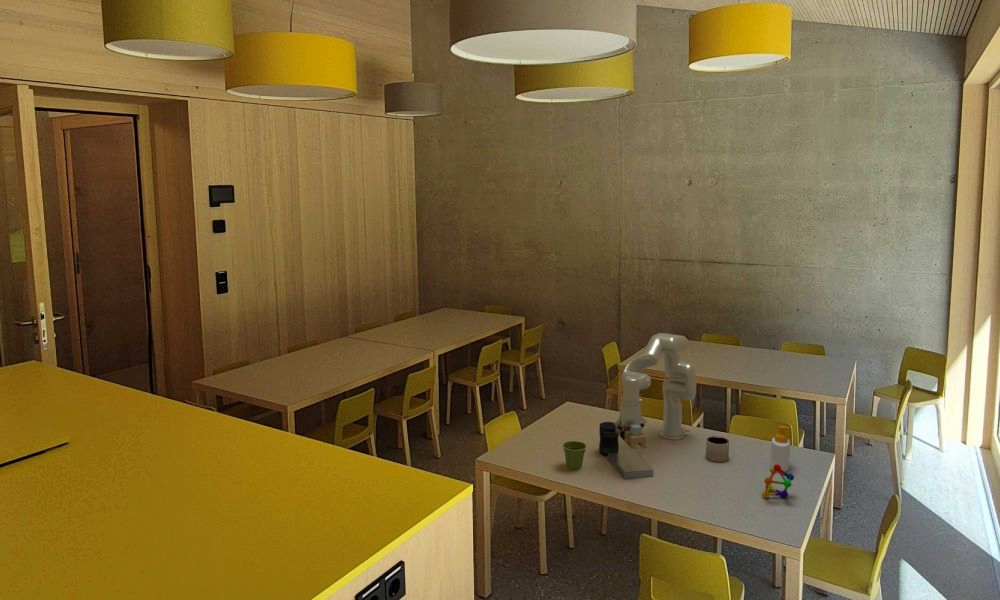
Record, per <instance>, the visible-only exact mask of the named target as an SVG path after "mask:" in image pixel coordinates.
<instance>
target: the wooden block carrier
mask: <svg viewBox="0 0 1000 600" xmlns="http://www.w3.org/2000/svg"><path fill="white" fill-rule="evenodd" d="M618 425H619V426H621V423H619V424H618ZM624 432H625V439H622V441H623V442H624V443H625V444H626V445H627V446H628V447H629V448H630V449H631V450H636V448H637V445H638V446H639V447H640V448H641V449H646V448H647V436H646V435H645V434H644V433H643V432H642V435H640V436H633V435H632V434H631V433H630V426H626V427H625V429H624ZM616 433H617V434H618V435H619V436H618V437H620V429H619V428H618V427H617V426H616Z"/></svg>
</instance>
